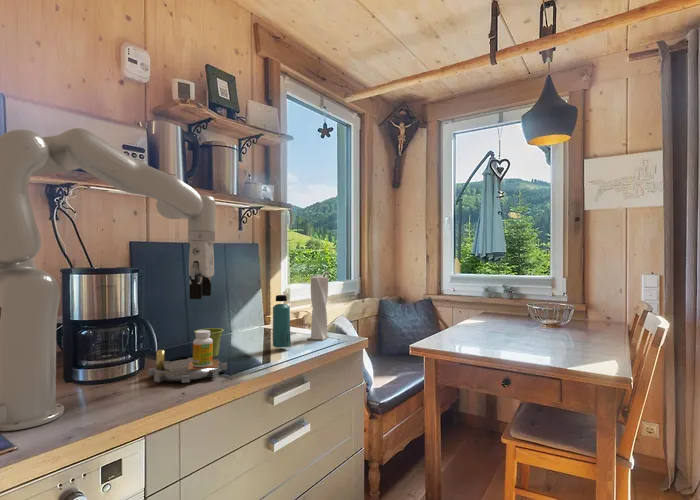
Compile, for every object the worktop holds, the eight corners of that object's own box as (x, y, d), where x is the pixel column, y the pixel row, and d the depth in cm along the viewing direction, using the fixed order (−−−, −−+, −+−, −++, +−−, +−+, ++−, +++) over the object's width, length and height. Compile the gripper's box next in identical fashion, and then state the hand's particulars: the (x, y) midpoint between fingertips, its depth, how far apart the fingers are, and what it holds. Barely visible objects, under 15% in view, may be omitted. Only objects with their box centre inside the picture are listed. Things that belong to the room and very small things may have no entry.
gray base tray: (227, 378, 110) (227, 354, 110) (141, 386, 104) (141, 360, 104) (226, 359, 130) (226, 339, 130) (154, 365, 124) (154, 343, 124)
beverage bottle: (288, 351, 145) (289, 295, 146) (270, 351, 146) (270, 295, 146) (291, 347, 152) (292, 294, 152) (274, 347, 152) (274, 294, 152)
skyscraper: (331, 337, 171) (331, 271, 172) (326, 341, 163) (326, 271, 164) (312, 336, 173) (312, 270, 174) (306, 340, 165) (306, 271, 166)
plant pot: (214, 360, 134) (214, 333, 134) (188, 358, 136) (188, 332, 136) (228, 353, 143) (228, 328, 143) (204, 352, 145) (204, 327, 145)
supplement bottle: (200, 368, 114) (201, 333, 114) (188, 365, 116) (189, 331, 117) (216, 364, 118) (216, 330, 118) (204, 361, 121) (204, 328, 121)
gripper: (206, 236, 110) (205, 300, 109) (221, 239, 127) (221, 294, 127) (178, 236, 109) (177, 300, 109) (196, 239, 126) (196, 294, 126)
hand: (200, 297), depth 118 cm, fingers open, 9 cm apart
